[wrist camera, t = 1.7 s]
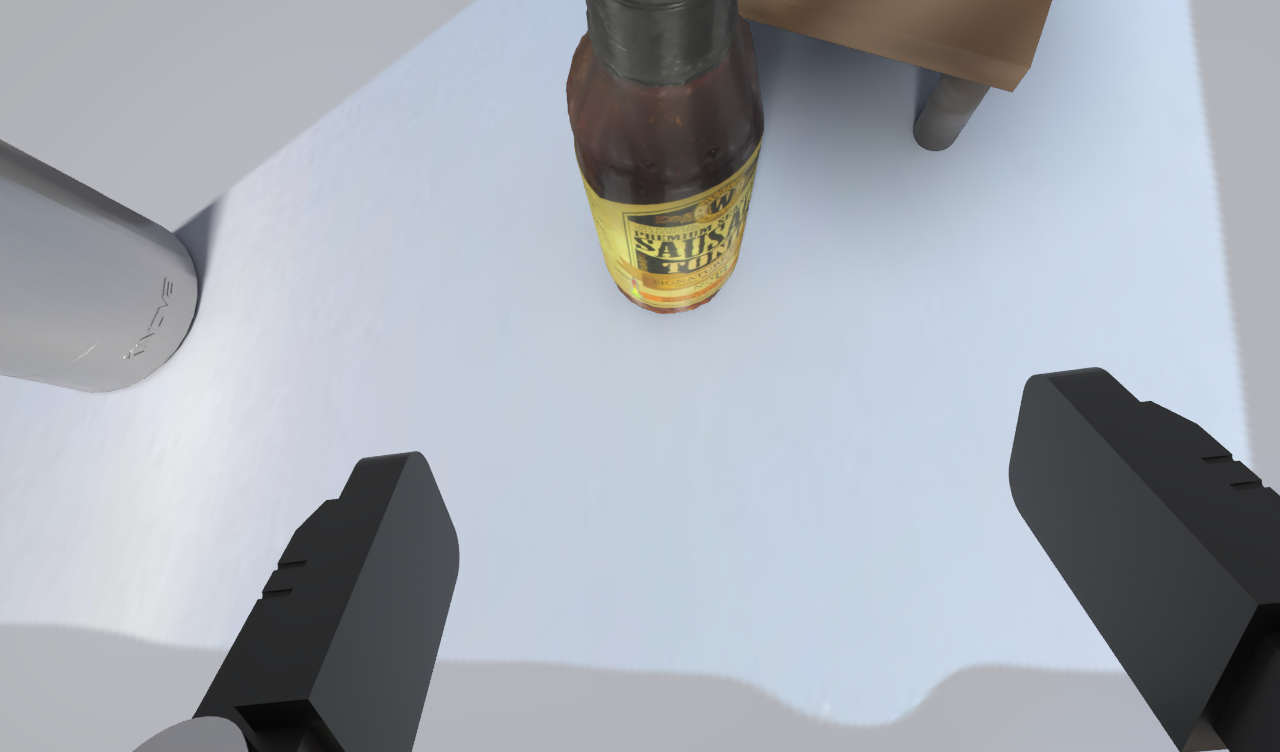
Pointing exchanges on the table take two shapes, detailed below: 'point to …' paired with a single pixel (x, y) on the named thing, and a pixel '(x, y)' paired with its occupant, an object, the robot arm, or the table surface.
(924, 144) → the peg shelf
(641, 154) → the sauce bottle
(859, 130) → the table surface
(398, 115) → the table surface
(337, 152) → the table surface
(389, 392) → the table surface
